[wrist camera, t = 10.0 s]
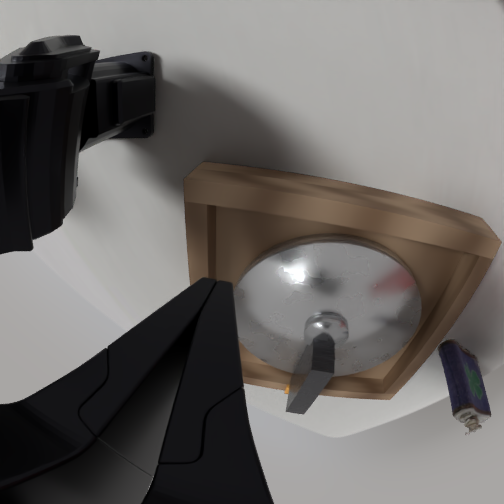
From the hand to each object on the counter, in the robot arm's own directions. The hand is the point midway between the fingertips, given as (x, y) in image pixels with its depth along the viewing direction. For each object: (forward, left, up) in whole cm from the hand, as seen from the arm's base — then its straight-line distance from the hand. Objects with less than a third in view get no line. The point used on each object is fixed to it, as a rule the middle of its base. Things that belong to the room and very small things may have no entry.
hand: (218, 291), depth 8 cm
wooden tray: (+6, -12, -13) cm, 19 cm away
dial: (+6, -12, -11) cm, 18 cm away
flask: (+25, -18, -13) cm, 34 cm away
